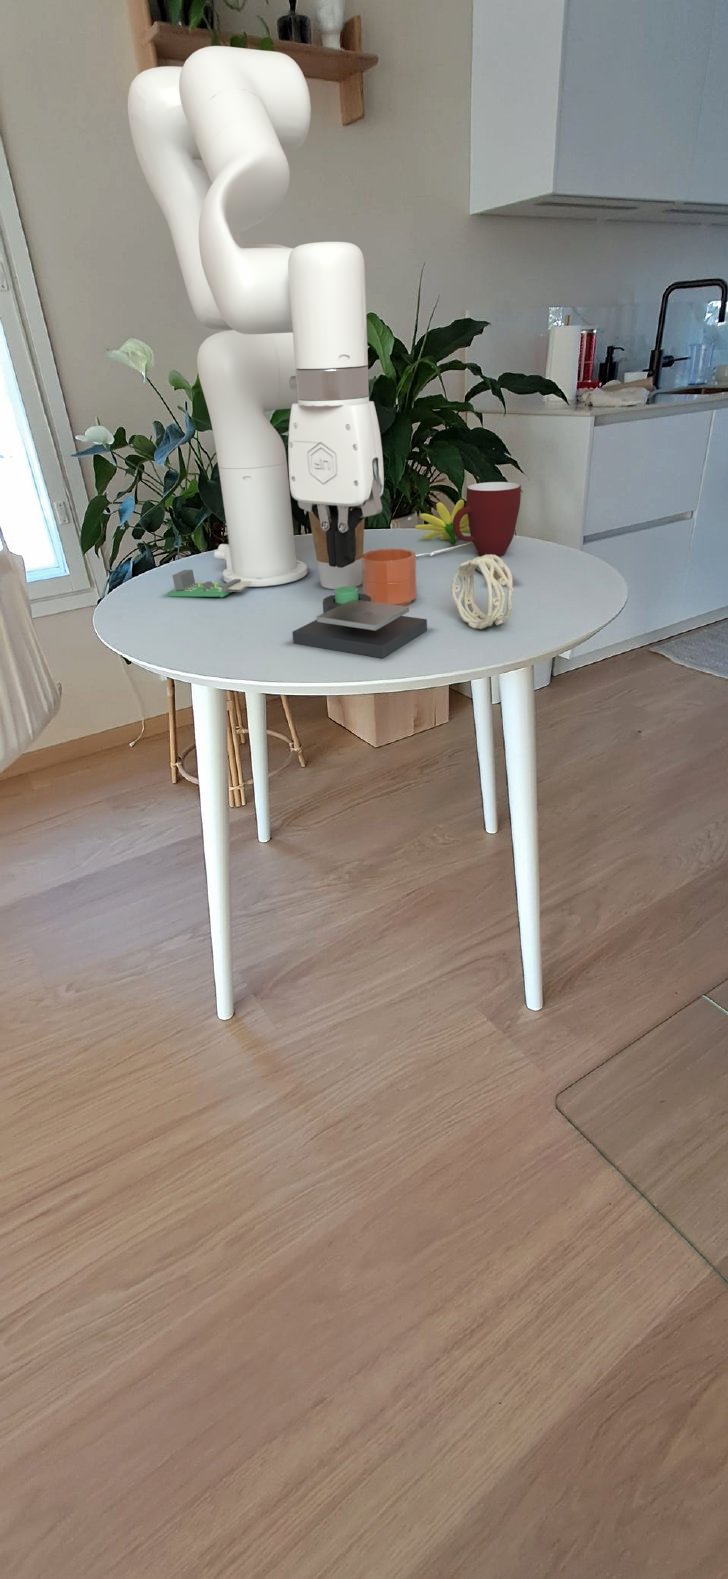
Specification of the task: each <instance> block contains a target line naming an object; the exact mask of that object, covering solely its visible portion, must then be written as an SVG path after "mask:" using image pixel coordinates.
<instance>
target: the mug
mask: <svg viewBox="0 0 728 1579" xmlns="http://www.w3.org/2000/svg"><path fill="white" fill-rule="evenodd" d="M465 494H466V496H465V498H466V500H465V501H466V502H465V505H466V506H464V507H463V508H461V509H459V510H458V511H457V513H456V514H455V516H454V519H453V532H454V534H455V535H456V537H458V538H459V539H458V540H460V541H464V542H471V543H472V542H473V543H472V544H473V546H474V548H475V550H476V552H477V554H478V555H479V557H481V556H484V555H496V556H498V557H499V558H500V557H503V556H504V555H505V554H506V552H507V550H508V549H509V547H510V545H511V543H512V541H513V540H514V536H515V531H516V526H517V522H518V517H519V512H520V507H521V500H522V498H521V496H522V485H521V484H520V483H517V482H510V481H488V482H487V481H486V482H478V483H473V484H469V485H468V486H466V493H465ZM465 514H467V515H468V521H469V526H468V527H469V528H470V534H469V535H464V534H463V535H464V536H463V535H462V534H461V532H460V521H461V519H462V517H463V516H464V515H465Z"/></svg>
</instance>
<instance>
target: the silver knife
mask: <svg viewBox="0 0 728 1579" xmlns="http://www.w3.org/2000/svg"><path fill="white" fill-rule="evenodd" d="M470 544H473V542H472V541H471V542H468V543H463V544H459V545H455V546H451V547H447V548H441V549H438V550H434V551H432V552H428V553H419V554H416V557H420V556H424V555H429V554H430V555H429V557H432V556H435V555H437V554H441V553H444V552H448V551H451V550H455V549H457V548H460V547H463V546H467V545H470Z"/></svg>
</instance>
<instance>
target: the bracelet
mask: <svg viewBox="0 0 728 1579" xmlns="http://www.w3.org/2000/svg"><path fill="white" fill-rule="evenodd" d="M486 565H487V566H486ZM477 566H479V568H480V570H481V572H482V573H481V572H480V573H481V574H482V575H483V577H484V580H485V583H486V586H487V587H486V588H487V610H486V614H485V613H484V612H483V611H482V610H481V609H480V608H479V607H478V605H477V603H476V602H475V598H474V594H475V592H474V591H475V570H476V567H477ZM487 567H489V569H490V571H489V569H488V568H487ZM494 570H495V571H496V572H497V573H498V575H499V576H500V577H501V578H500V579H498V580H496V579H495V578H494V577H493V574H494ZM503 570H504V571H505V572H506V574H507V577H506V576H505V574H504V572H503ZM507 578H508V579H507ZM458 579H459V581H460V584H458V583H457V580H458ZM512 580H513V574H512V572H511V570H510V567H509V566H508V565H507V564H506V563H505V561H504V560H503V559H502V558H501V557H500V556H499V557H498V556H496V555H484V556H476V557H474V558H473V559H468V560H467V561H463V562H461V563H460V564H459V565H458V569H457V571H455V574H454V576H453V578H452V581H451V587H450V590H451V591H450V592H451V597H452V600H453V602H454V604H455V605H456V608H457V611H458V614H459V617H460V618H461V619H462V621H463V622H465V623H466V624H467V623H468V624H467V625H468V626H469V627H470V628H473V629H478V630H483V629H486V628H487V627H491V626H493V624H495V625H496V626H499V625H502V624H504V622H505V621H507V620H508V619H509V618H510V616H511V614H512V609H513V607H512V606H513V605H512V601H513V593H515V592H514V591H515V590H514V587H513V586H514V585H513V582H514V580H513V581H512ZM468 582H469V584H468ZM468 585H469V586H468ZM503 585H506V586H505V587H506V588H507V598H506V593H505V590H504V587H503ZM468 588H469V589H468ZM493 591H494V592H493ZM458 592H459V593H458ZM456 593H458V596H457V594H456ZM493 593H494V594H495V596H493ZM462 599H463V602H462ZM462 603H463V604H462ZM505 604H506V612H505V613H504V612H503V611H504V608H505ZM469 605H470V607H471V609H472V611H471V610H470V608H469ZM493 606H494V608H493Z"/></svg>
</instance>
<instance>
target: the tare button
mask: <svg viewBox="0 0 728 1579" xmlns="http://www.w3.org/2000/svg"><path fill="white" fill-rule="evenodd" d="M358 593H359V588H358V587H357V586H356V587H351V586H346V587H339V588H337V589H334V595H335V603H340V604H344V603H346V602H348V601H350V600H352V599H353V600H359V598H358Z"/></svg>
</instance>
